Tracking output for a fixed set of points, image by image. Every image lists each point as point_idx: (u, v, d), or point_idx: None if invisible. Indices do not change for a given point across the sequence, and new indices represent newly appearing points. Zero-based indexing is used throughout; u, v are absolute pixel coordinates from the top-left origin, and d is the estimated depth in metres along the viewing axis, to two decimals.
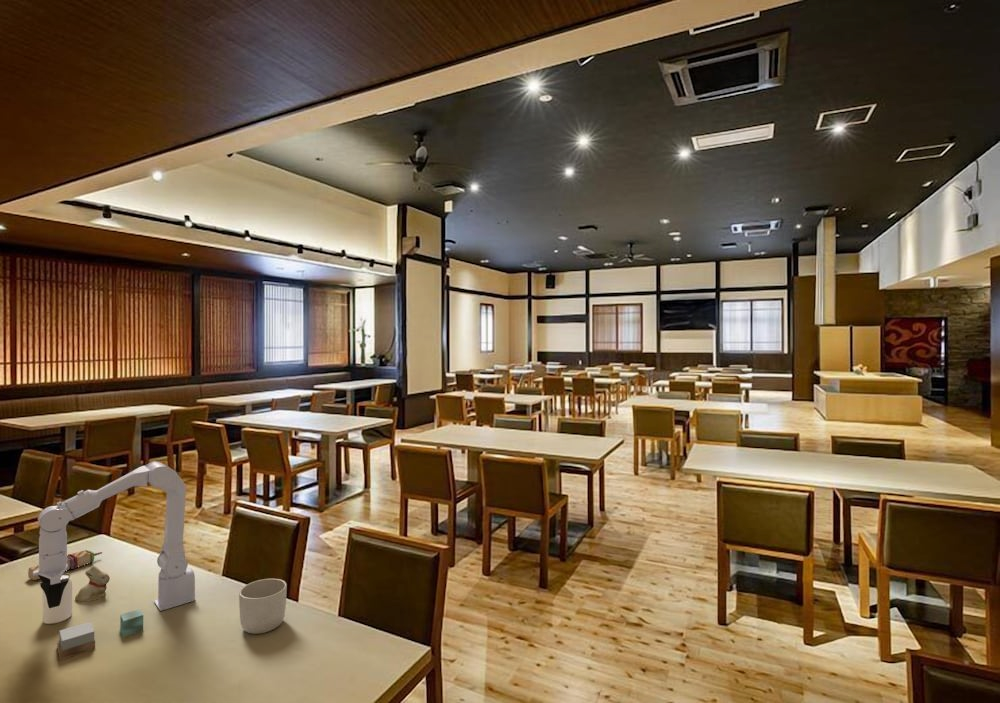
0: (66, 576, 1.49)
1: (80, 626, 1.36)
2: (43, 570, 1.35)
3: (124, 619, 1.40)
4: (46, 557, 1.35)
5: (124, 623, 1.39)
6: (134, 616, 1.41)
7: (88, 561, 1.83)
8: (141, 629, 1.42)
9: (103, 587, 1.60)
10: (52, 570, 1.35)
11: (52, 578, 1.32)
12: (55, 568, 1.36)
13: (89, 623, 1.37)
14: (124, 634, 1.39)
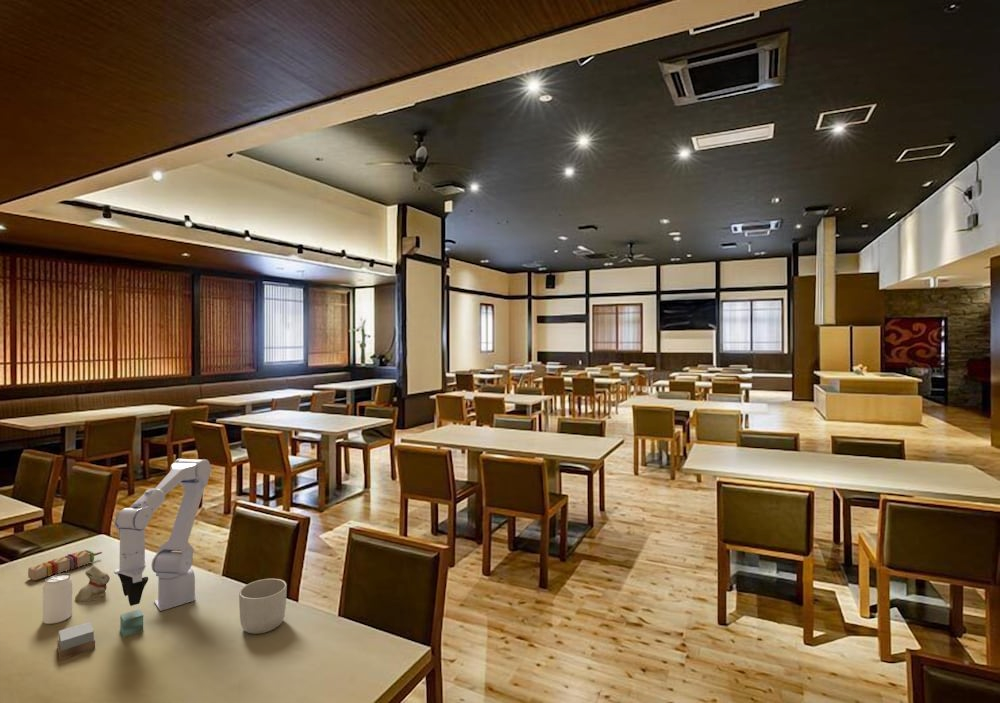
0: (66, 576, 1.49)
1: (79, 626, 1.36)
2: (124, 569, 1.39)
3: (124, 619, 1.40)
4: (127, 556, 1.39)
5: (124, 623, 1.39)
6: (134, 616, 1.41)
7: (88, 561, 1.83)
8: (141, 629, 1.42)
9: (103, 587, 1.60)
10: (132, 569, 1.40)
11: (134, 576, 1.36)
12: (135, 567, 1.40)
13: (88, 623, 1.37)
14: (124, 634, 1.39)
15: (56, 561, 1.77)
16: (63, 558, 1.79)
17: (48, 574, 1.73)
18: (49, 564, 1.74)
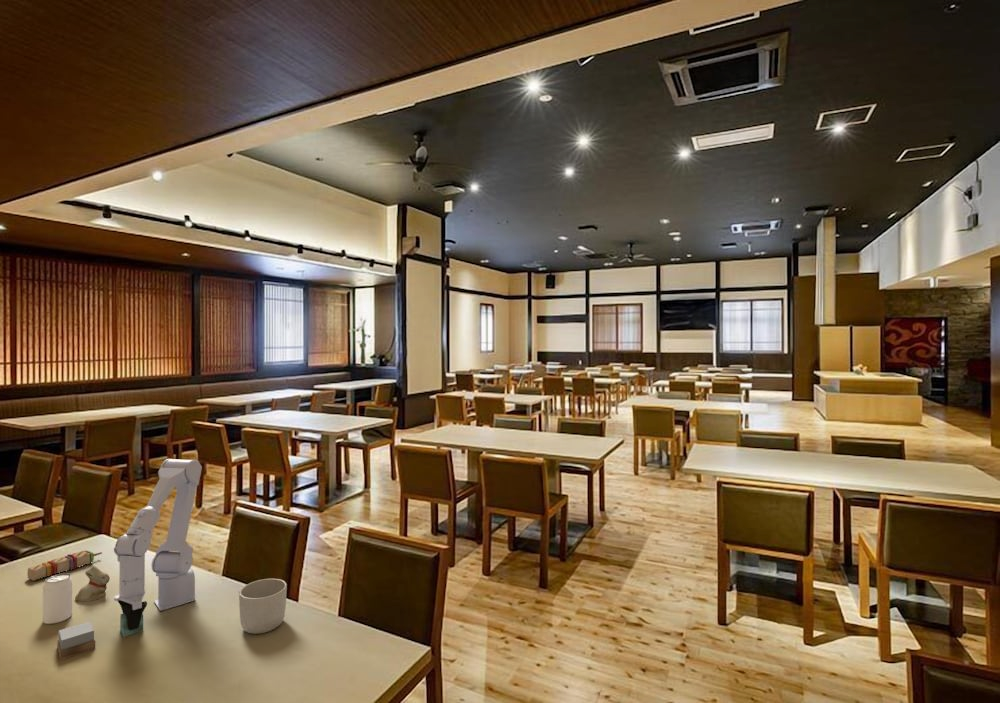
0: (66, 576, 1.49)
1: (79, 626, 1.36)
2: (124, 595, 1.39)
3: (124, 619, 1.40)
4: (127, 583, 1.39)
5: (124, 623, 1.39)
6: None
7: (87, 561, 1.83)
8: (141, 629, 1.42)
9: (103, 587, 1.60)
10: (132, 595, 1.40)
11: (134, 604, 1.36)
12: (135, 593, 1.40)
13: (88, 623, 1.37)
14: (124, 634, 1.39)
15: (55, 561, 1.76)
16: (62, 558, 1.79)
17: (47, 574, 1.73)
18: (48, 564, 1.74)
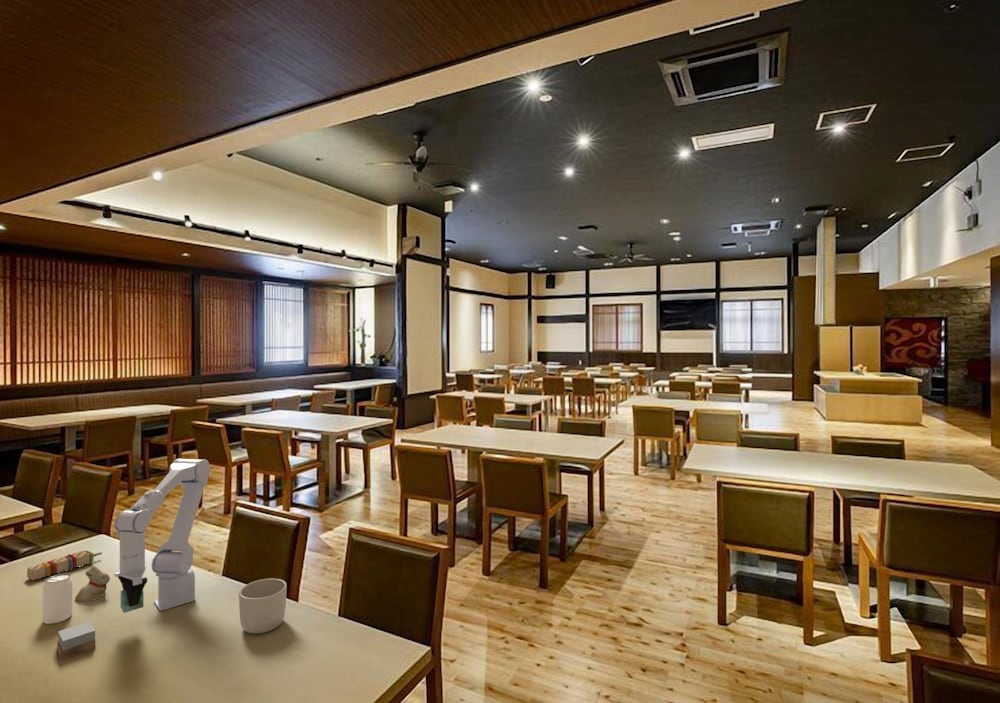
0: (66, 576, 1.49)
1: (79, 626, 1.36)
2: (124, 571, 1.39)
3: (124, 595, 1.40)
4: (127, 559, 1.39)
5: (124, 599, 1.39)
6: None
7: (87, 562, 1.83)
8: (141, 605, 1.42)
9: (103, 587, 1.60)
10: (133, 571, 1.40)
11: (135, 579, 1.36)
12: (135, 569, 1.40)
13: (88, 623, 1.37)
14: (124, 610, 1.39)
15: (55, 561, 1.76)
16: (62, 558, 1.79)
17: (47, 574, 1.73)
18: (48, 564, 1.74)
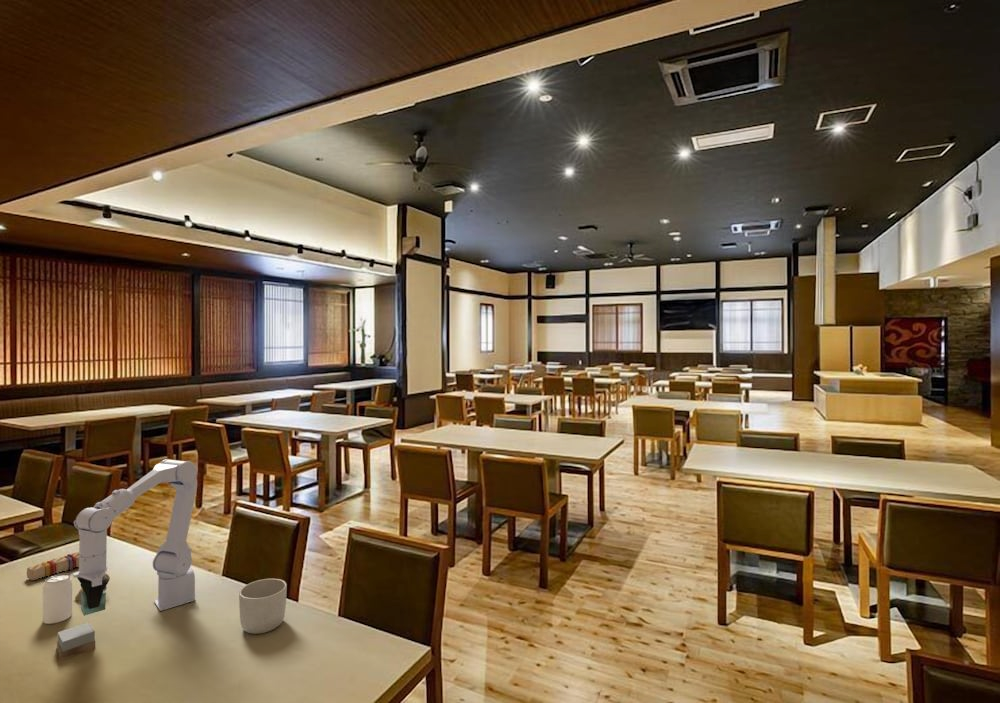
0: (66, 576, 1.49)
1: (79, 627, 1.35)
2: (83, 572, 1.33)
3: (85, 597, 1.33)
4: (87, 559, 1.33)
5: (84, 601, 1.33)
6: None
7: None
8: (103, 608, 1.36)
9: None
10: (93, 572, 1.33)
11: (94, 580, 1.30)
12: (95, 570, 1.34)
13: (87, 624, 1.37)
14: (84, 612, 1.33)
15: (55, 561, 1.76)
16: (62, 558, 1.79)
17: (46, 574, 1.73)
18: (47, 564, 1.74)
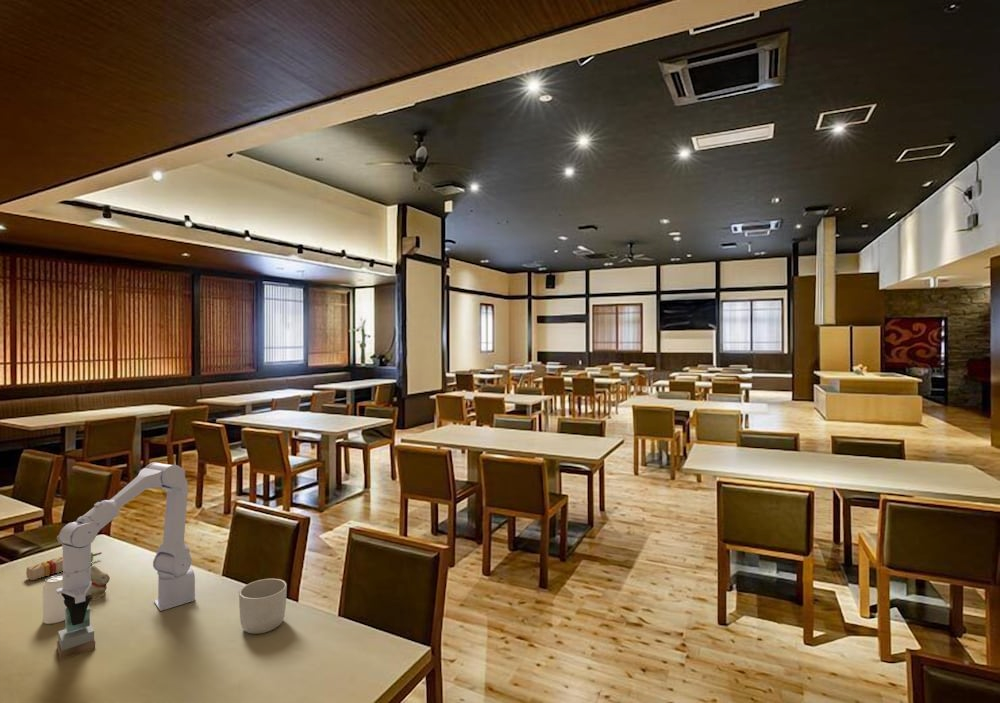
0: None
1: None
2: (67, 588, 1.31)
3: (68, 613, 1.31)
4: (70, 575, 1.31)
5: (68, 617, 1.31)
6: None
7: None
8: (87, 624, 1.33)
9: (103, 587, 1.60)
10: (76, 588, 1.31)
11: (77, 597, 1.28)
12: (79, 586, 1.32)
13: None
14: (68, 629, 1.31)
15: (54, 561, 1.76)
16: (61, 558, 1.79)
17: (46, 574, 1.73)
18: (47, 564, 1.74)
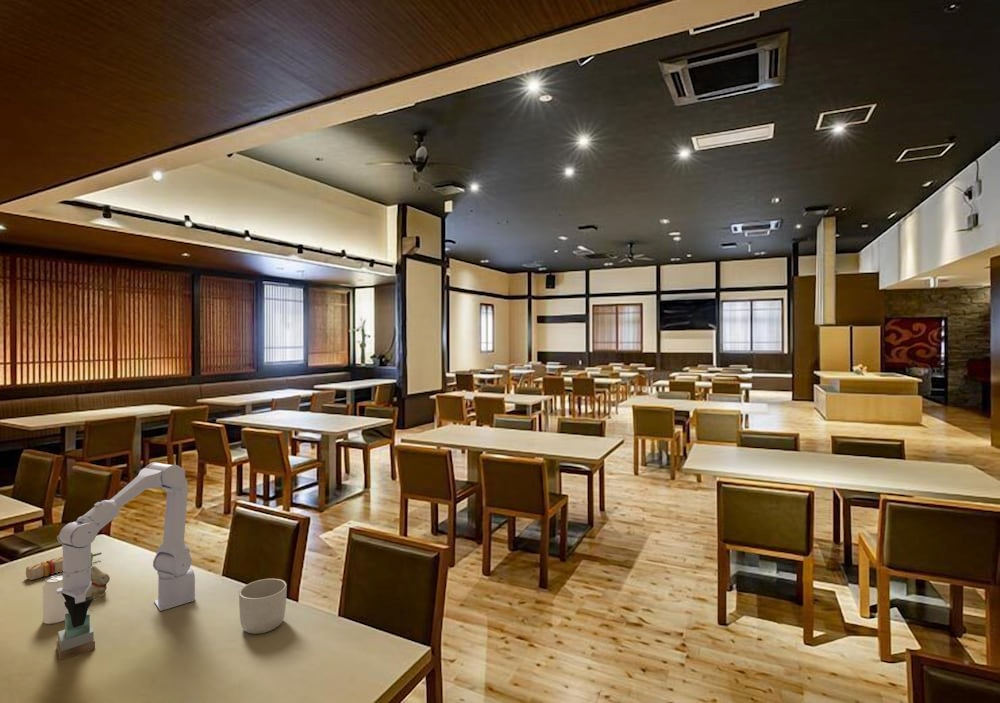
0: None
1: None
2: (67, 588, 1.31)
3: (68, 619, 1.31)
4: (70, 575, 1.31)
5: (68, 623, 1.30)
6: None
7: None
8: (87, 629, 1.33)
9: (103, 587, 1.60)
10: (76, 588, 1.31)
11: (77, 597, 1.28)
12: (79, 586, 1.32)
13: None
14: (68, 635, 1.30)
15: (54, 561, 1.77)
16: (61, 558, 1.79)
17: (45, 574, 1.73)
18: (46, 564, 1.74)
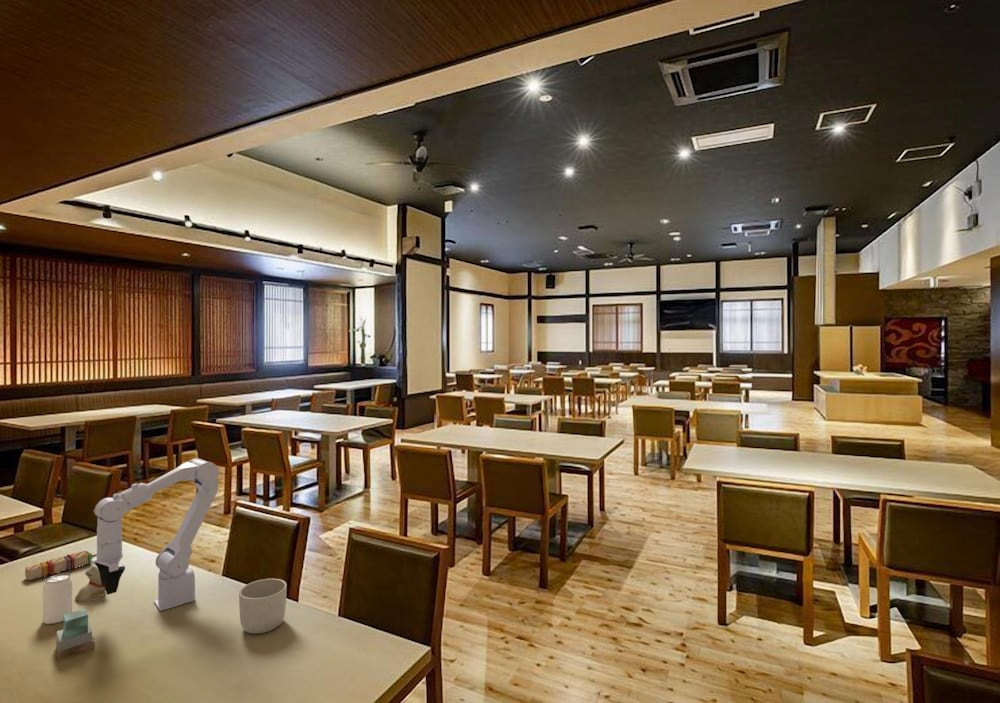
0: (66, 576, 1.49)
1: None
2: (101, 558, 1.42)
3: (66, 619, 1.31)
4: (104, 546, 1.42)
5: (66, 624, 1.30)
6: (78, 616, 1.32)
7: (85, 562, 1.82)
8: (86, 630, 1.33)
9: (103, 587, 1.60)
10: (109, 558, 1.42)
11: (111, 566, 1.39)
12: (112, 556, 1.43)
13: None
14: (66, 635, 1.30)
15: (53, 561, 1.76)
16: (60, 558, 1.79)
17: (44, 575, 1.73)
18: (45, 564, 1.74)
